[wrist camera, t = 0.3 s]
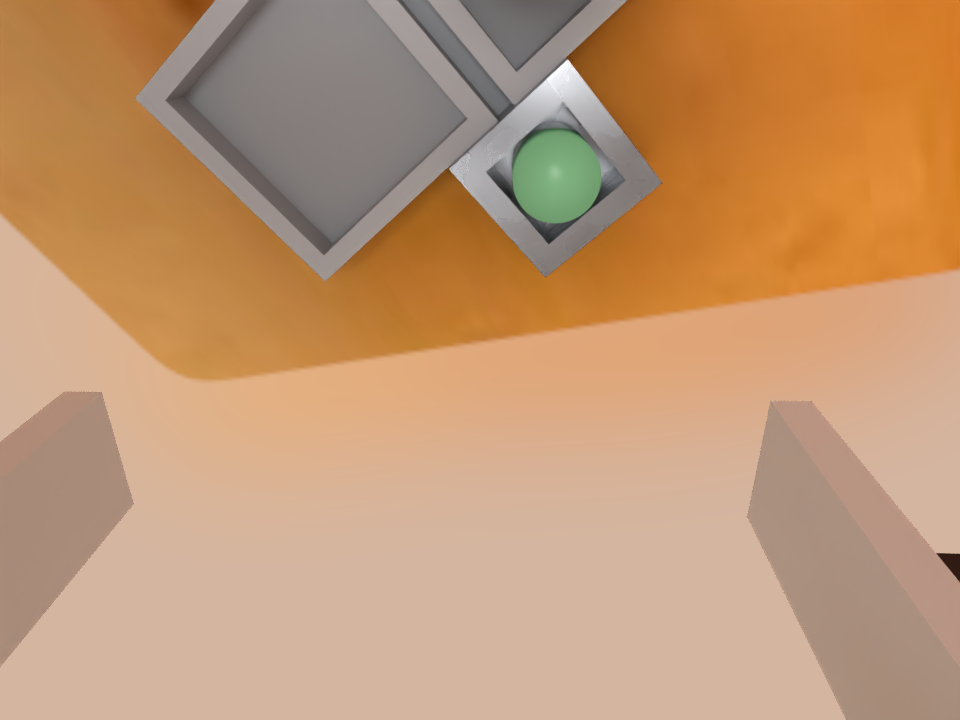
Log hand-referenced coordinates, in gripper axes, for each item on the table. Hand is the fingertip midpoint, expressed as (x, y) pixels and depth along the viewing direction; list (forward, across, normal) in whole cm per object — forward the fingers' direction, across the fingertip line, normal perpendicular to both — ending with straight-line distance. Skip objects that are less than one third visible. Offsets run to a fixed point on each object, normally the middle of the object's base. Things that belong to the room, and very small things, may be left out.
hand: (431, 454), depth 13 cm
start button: (+24, +4, +2) cm, 24 cm away
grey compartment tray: (+25, -3, +9) cm, 27 cm away
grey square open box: (+25, +4, +2) cm, 25 cm away
